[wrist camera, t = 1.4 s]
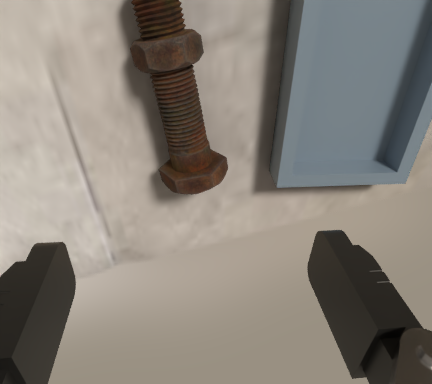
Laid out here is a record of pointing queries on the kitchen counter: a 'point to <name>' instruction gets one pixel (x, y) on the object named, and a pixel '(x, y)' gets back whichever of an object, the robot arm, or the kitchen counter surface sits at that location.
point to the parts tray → (353, 92)
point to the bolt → (177, 95)
